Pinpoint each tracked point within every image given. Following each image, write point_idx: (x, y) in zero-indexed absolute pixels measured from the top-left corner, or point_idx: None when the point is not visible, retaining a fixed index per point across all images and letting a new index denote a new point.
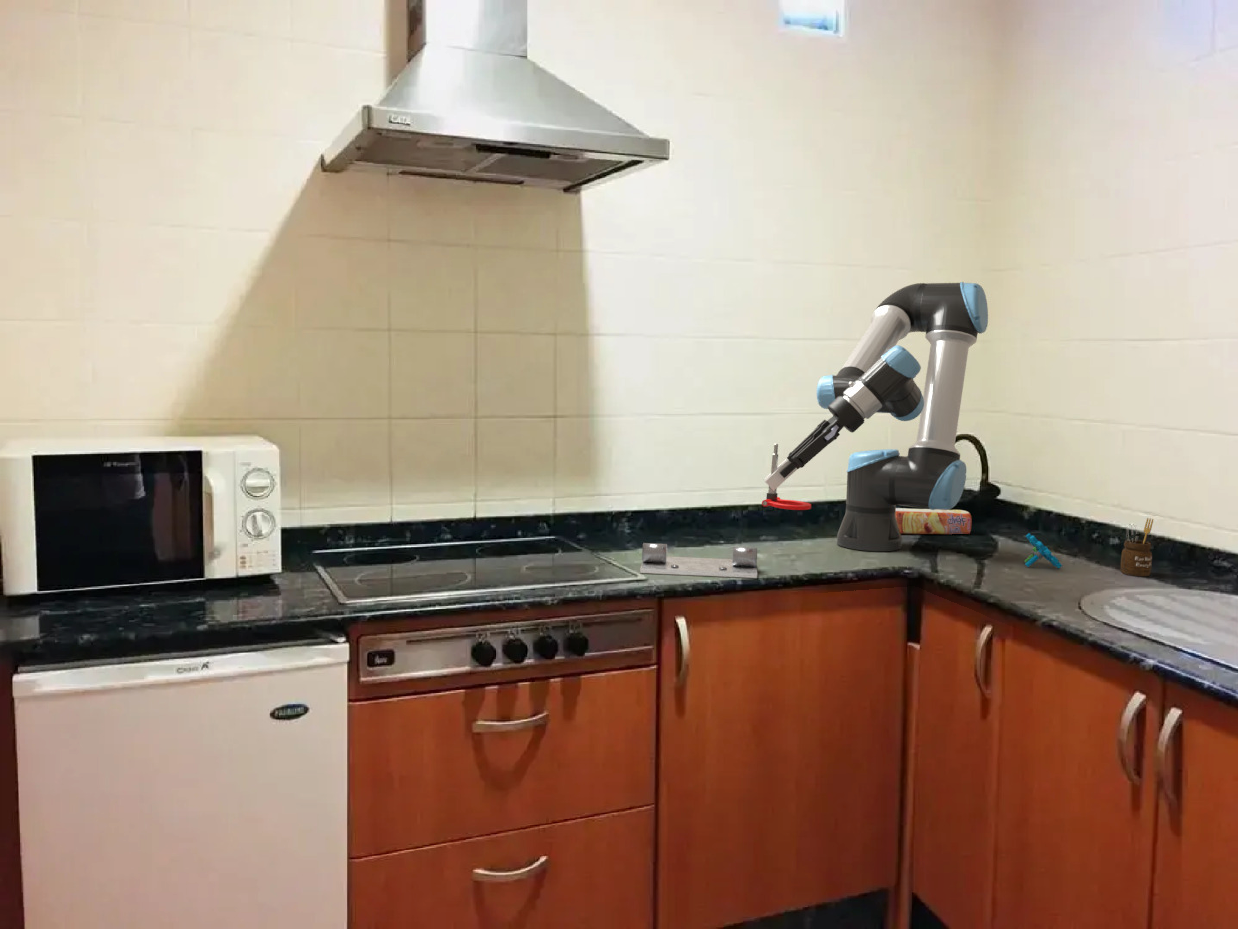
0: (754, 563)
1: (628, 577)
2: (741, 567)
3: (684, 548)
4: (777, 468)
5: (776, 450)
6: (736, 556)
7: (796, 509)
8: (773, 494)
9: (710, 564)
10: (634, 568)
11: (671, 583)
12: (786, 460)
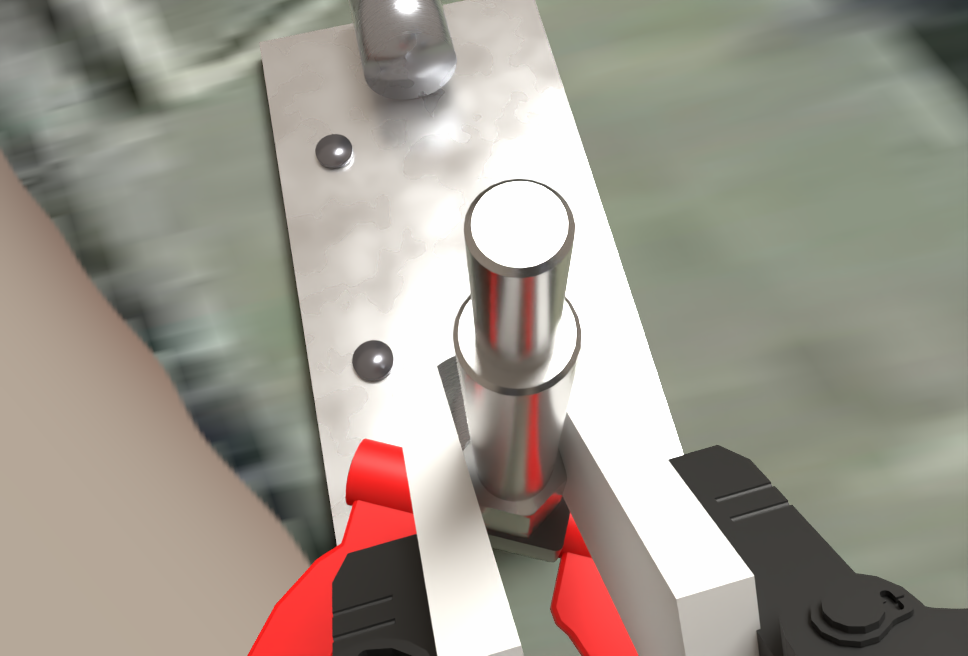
0: None
1: (173, 43)
2: None
3: (890, 70)
4: (591, 461)
5: (481, 322)
6: None
7: None
8: None
9: (463, 280)
10: (349, 15)
11: (109, 213)
12: (663, 593)
